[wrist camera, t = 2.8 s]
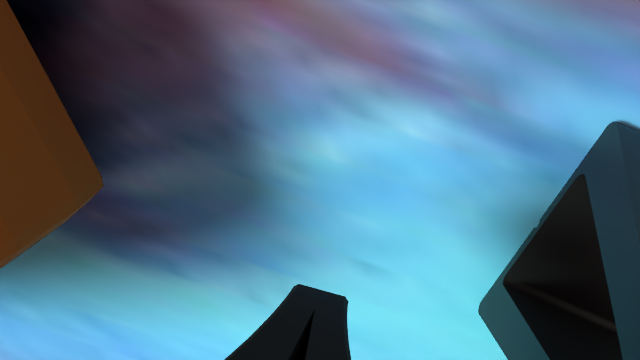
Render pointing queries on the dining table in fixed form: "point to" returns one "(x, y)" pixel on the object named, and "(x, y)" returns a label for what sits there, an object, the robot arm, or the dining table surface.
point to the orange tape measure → (35, 149)
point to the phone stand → (578, 266)
